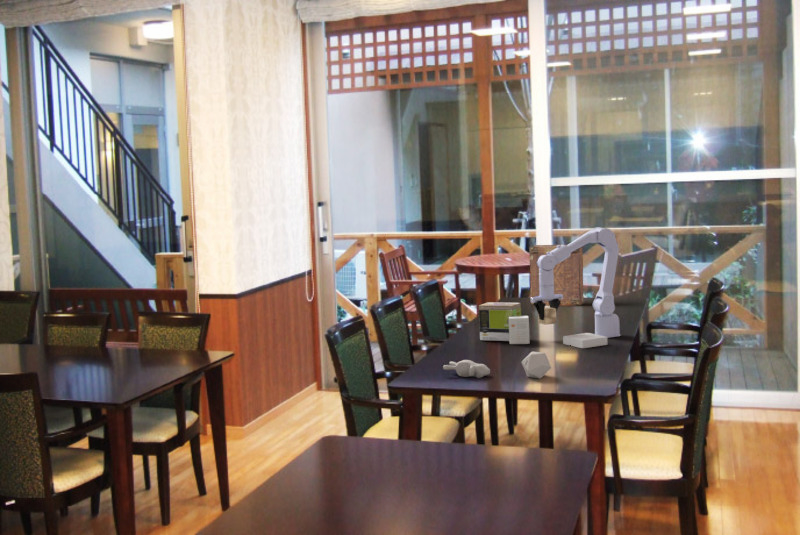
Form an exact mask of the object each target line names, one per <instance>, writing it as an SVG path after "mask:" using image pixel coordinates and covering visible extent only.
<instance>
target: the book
mask: <svg viewBox="0 0 800 535" xmlns="http://www.w3.org/2000/svg"><path fill="white" fill-rule="evenodd" d="M558 245H560V246H561V245H562V244H534V245H533V246H529V247H528V248H529V249H528V250H529V278H530V280H529V281H530V282H529V284H530V286H529V287H530V299H531V298H532V297H537V296H539V295H540V290H539V267H538V266H537V261H538V259H539V257H540V256H542V255H547V252H551V251H552V250H554V249H556V248H557V247H556V246H558ZM565 245H566V246H567V245H568V244H565ZM583 248H584V247H583V246H582V247H580V248H578V249H576V250H574V251H573V252H571V254H570V257H568V258H567V259H565V260H563V261H562V262H560V263H558V264H557V265H555V267H554V268H553V275H554V295H555V294H563V299H559V300H560V301H561V303H560V305H559V307H561V306H562V307H569V306H570V307H575V306H576V307H580V306H582V305H583V304H584V270H583V269H584V267H583V266H584V262H583V260H584V258H583V257H584V256H583V252H584V251H583V250H584V249H583ZM544 300H546V299H544ZM542 302H543V303H545V307H546V306H547V307H550V305H549V301H542ZM530 305H531V306H534V304H533V303H531V302H530Z"/></svg>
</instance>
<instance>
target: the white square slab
mask: <svg viewBox="0 0 800 535" xmlns="http://www.w3.org/2000/svg"><path fill="white" fill-rule="evenodd" d="M562 336H563V337H562V344H563V345H567V346H570V345H571V347H576V348H579V349H588V348H589V349H590V348H592V347H593V348H594V347H600V346H607V345H608V338H607V337H605V336H601V335H596V334H595V333H592V332H584V333H583V332H581V333H577V334H570V335H569V334H568V335H562Z"/></svg>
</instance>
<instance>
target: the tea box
mask: <svg viewBox="0 0 800 535" xmlns="http://www.w3.org/2000/svg"><path fill="white" fill-rule="evenodd" d="M521 305H522V304H521V302H492V301H491V302H489V301H488V302H485V303H482V304H479V305H478V317H479V318H478V324H479V339H480V341H495V342H496V341H497V342H499V341H500V342H509V316H522V308H521V307H522V306H521Z"/></svg>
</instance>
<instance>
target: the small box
mask: <svg viewBox="0 0 800 535" xmlns="http://www.w3.org/2000/svg"><path fill="white" fill-rule="evenodd" d="M529 320H530V319H529V315H521V316H509V341H508V342H509V345H528V344H530V343H531V342H530V338H531V337H530V321H529Z"/></svg>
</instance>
